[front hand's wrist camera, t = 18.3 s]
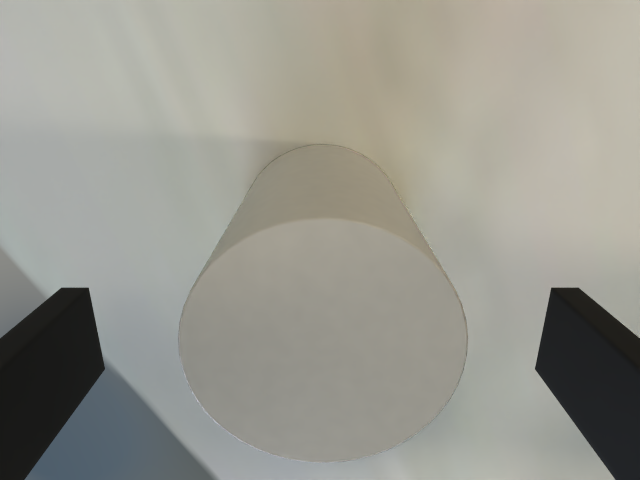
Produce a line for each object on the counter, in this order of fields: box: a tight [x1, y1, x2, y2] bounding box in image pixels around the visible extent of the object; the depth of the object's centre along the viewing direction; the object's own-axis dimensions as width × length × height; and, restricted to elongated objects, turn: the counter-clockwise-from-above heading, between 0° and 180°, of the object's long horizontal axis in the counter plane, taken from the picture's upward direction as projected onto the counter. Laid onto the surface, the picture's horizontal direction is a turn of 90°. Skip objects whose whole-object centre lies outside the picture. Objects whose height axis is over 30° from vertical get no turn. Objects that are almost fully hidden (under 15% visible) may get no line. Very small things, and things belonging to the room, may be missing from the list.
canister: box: [178, 144, 468, 463], centre depth 16 cm, size 7×7×10 cm
